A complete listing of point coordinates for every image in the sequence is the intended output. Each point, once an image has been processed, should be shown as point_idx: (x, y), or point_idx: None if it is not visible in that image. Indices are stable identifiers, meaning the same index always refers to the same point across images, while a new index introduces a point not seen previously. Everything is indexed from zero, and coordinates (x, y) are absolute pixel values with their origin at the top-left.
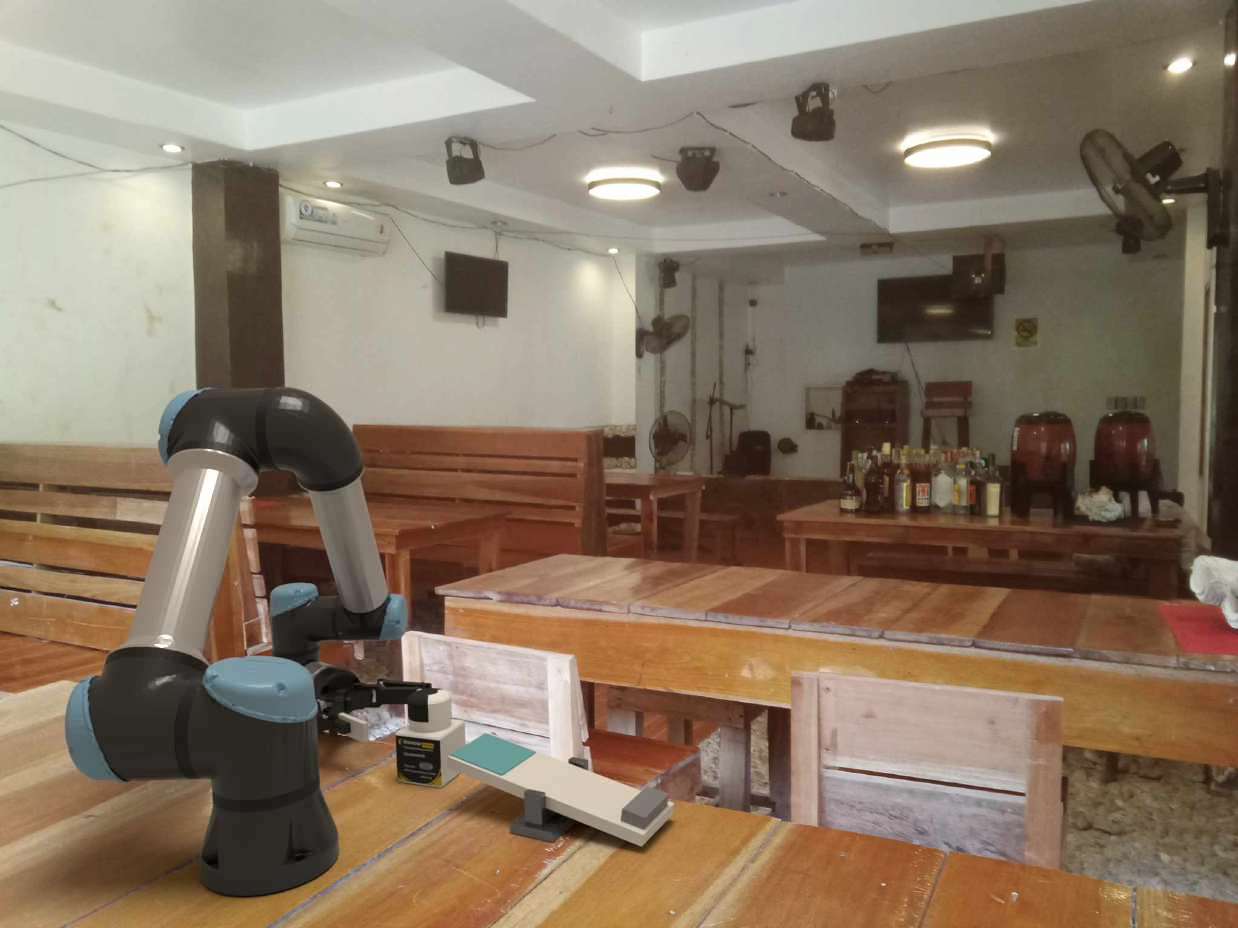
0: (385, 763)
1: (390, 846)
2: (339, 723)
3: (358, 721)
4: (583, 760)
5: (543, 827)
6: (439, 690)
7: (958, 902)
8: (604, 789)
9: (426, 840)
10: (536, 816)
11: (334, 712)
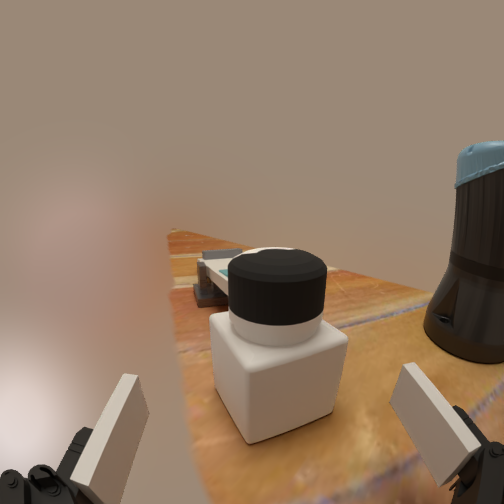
0: (314, 491)
1: (382, 318)
2: (468, 419)
3: (425, 379)
4: (200, 262)
5: None
6: (253, 252)
7: (200, 237)
8: (220, 261)
9: (351, 313)
10: None
11: (490, 470)
